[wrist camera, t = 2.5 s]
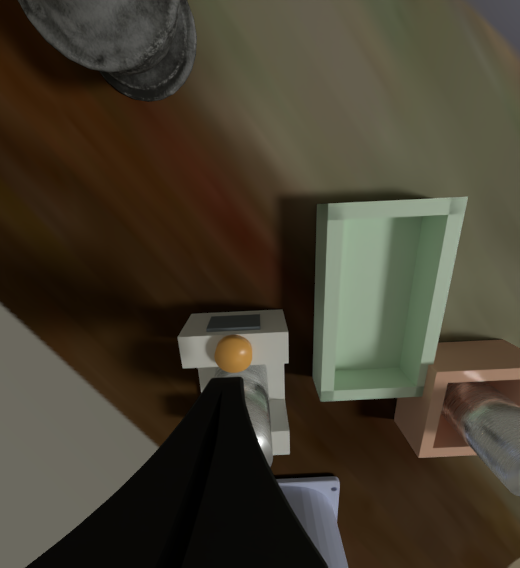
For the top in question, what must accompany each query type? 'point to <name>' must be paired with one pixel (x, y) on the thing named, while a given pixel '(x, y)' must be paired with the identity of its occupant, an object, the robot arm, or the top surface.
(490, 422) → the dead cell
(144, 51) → the grey chess piece
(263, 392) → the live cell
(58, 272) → the top surface
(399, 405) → the cup
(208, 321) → the cradle
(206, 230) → the top surface
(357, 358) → the trough
